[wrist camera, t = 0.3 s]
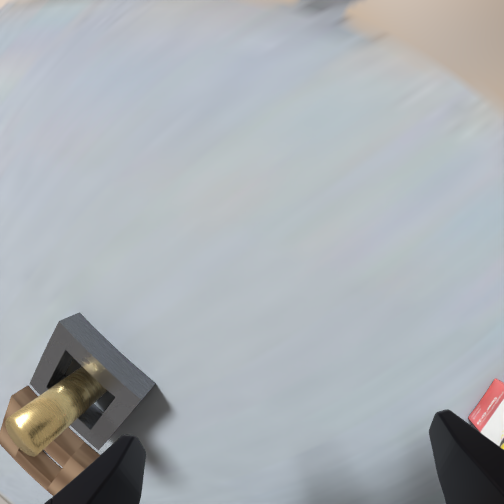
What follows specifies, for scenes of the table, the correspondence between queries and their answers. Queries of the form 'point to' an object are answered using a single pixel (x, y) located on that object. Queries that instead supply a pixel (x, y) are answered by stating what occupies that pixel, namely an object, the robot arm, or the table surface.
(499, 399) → the ink cartridge box
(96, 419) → the socket block
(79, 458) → the wooden square frame
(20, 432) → the brass cylinder
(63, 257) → the table surface
